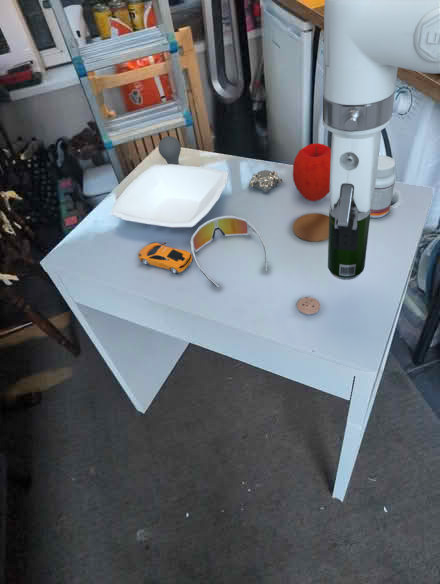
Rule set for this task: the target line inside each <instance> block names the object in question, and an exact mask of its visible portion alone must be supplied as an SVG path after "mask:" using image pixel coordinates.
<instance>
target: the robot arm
mask: <svg viewBox="0 0 440 584" xmlns="http://www.w3.org/2000/svg"><path fill="white" fill-rule="evenodd" d="M323 7H324V9H323V75H322V76H323V80H322V81H323V86H322V126H323V127H324V128H325V129H326V130H327V131H328V132H330V133H331V142H330V144H331V146H330V148H331V161H330V192H329V208H330V207H331V208H332V209H333V210H335V209H336V215H335V223H334V230H333V248H334V249H340V250H350V251H356V250H357V246H358V236H359V225H357V223H358V214H359V212H364V213H366V212H368V211H369V210H370V208H371V205H372V200H373V195H374V190H375V184H376V178H377V168H378V159H379V156H380V150H381V140H382V139H381V138H382V130H385V128H387V127H388V126H389V125H390V124H391V122H392V117H393V110H394V109H393V108H394V103H395V94H396V86H397V77H398V72H399V71H398V70H399V68H401V69H404V70H410V71H414V72H419V73H423V74H424V73H425V74H440V0H324V6H323ZM352 201H354V202H355V204H351V203H352ZM350 211H354V216H353V219H352V218H350Z"/></svg>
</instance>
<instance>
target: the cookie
mask: <svg viewBox="0 0 440 584" xmlns="http://www.w3.org/2000/svg"><path fill="white" fill-rule="evenodd" d="M296 307H297V310H298V311H299V312H300V313H302V314H305V315H313V314H316V313H318V312H319V311H320V309H321V303H320V301H319V300H318V299H316V298H314V297H310V296H306V297H302V298H300V299H298V300H297V303H296Z"/></svg>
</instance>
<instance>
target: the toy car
mask: <svg viewBox="0 0 440 584" xmlns="http://www.w3.org/2000/svg"><path fill="white" fill-rule="evenodd" d="M166 244H167V242H162V244H161V243H159V242H150V243H148V244H147V245H145V246H143V247H142V248H141V249H140V250H139V251H138V253H137V257H138V259H139V260H140V262H142V263H143V264H144V265H146V266H152V267H153V266H154V267H156V268H161V269H165V270H168V271H171V272H172V273H173V274H175V275H177V274H180V273H182V272H184V271H185V270H187V269H188V268H189V267H190V266H191V264H192V262H193V259H194V257H193V255H192V252H190V251H188V250H184V249H180V248H175V247H170V246H167V245H166Z"/></svg>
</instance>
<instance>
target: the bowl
mask: <svg viewBox="0 0 440 584" xmlns="http://www.w3.org/2000/svg"><path fill="white" fill-rule="evenodd" d="M228 177H229V172H228V171H224V170H220V169H217V168H213V167H205V166H195V165H186V164H185V165H184V164H179V165H175V164H167V163H166V164H152V165H150V166H149V167H148V168H146V169H145V170H144V171H142V172H141V173H140V174H139V175H137V177H136V178H134V180H132V181H131V183H129V184H128V185H127V186H126V187H125V188H124V189H123V191H122V193H121V194H120V195H119V197H118V198H117V199H116V200H115V202H114V205H113V207H112V208H111V211H110V212H109V214H110V215H111V216H112V217H116V218H118V219H120V220H123V221H126V222H127V221H128V222H133V223H139V224H144V225H150V226H159V227H165V228H193V227H195V226H196V225H197V224H198V223H199V222H201V220H202V219H204V218H205V217H206V216H207V215H208V213H210V211H211V209H212V208H213V207H214V206H215V205H216V203H217V202H218V201H219V200H220V197H221V196H222V193H223V192H224V190H225V188H226V186H227V182H228Z"/></svg>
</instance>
